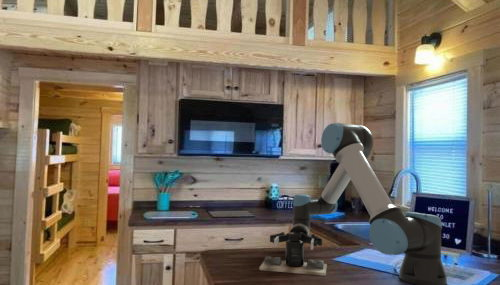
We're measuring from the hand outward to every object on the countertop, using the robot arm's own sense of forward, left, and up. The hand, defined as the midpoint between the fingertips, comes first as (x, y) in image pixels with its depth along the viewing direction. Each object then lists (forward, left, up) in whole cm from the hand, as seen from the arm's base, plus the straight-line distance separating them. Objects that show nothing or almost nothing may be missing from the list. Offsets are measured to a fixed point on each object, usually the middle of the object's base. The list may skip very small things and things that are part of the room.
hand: (293, 244), depth 145 cm
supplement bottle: (0, -3, -9) cm, 9 cm away
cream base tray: (0, -3, -9) cm, 10 cm away
